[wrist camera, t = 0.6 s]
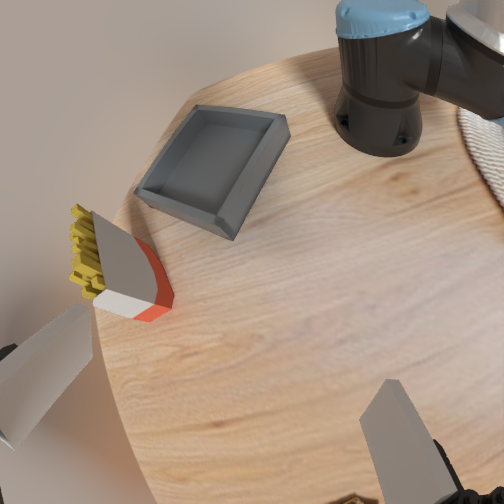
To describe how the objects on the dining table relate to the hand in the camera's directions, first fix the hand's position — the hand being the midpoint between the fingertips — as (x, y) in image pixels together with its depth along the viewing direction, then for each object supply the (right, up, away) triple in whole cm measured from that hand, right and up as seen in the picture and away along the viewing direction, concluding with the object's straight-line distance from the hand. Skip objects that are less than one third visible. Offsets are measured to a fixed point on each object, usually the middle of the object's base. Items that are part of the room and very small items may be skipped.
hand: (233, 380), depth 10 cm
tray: (-5, +19, +33) cm, 39 cm away
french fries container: (-14, 0, +30) cm, 33 cm away
